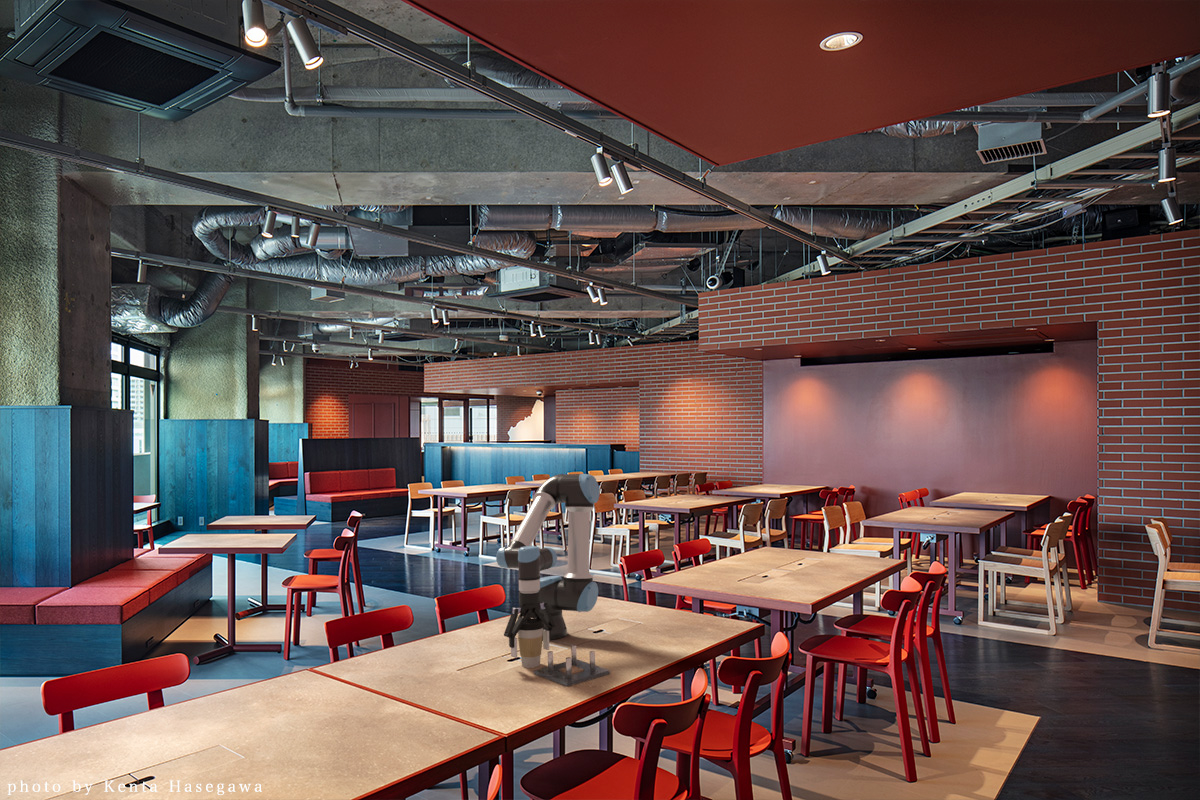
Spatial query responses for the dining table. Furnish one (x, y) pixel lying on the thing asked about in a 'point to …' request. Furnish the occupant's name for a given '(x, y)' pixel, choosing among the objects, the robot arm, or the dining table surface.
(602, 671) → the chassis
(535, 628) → the coffee cup
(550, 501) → the robot arm
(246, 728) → the dining table surface
